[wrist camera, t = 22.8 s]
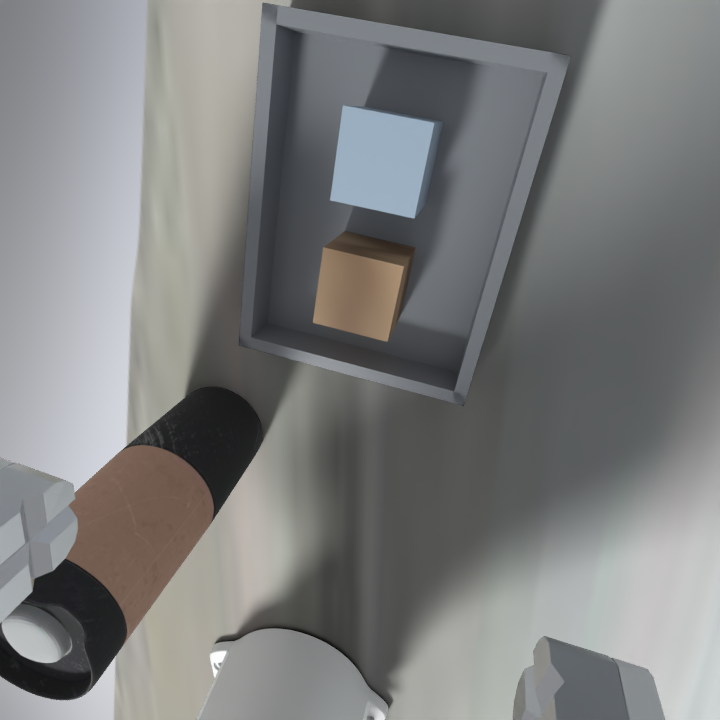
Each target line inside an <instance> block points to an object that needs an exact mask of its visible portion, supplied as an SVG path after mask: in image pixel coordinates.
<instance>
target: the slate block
mask: <svg viewBox="0 0 720 720" xmlns="http://www.w3.org/2000/svg"><path fill="white" fill-rule="evenodd" d="M442 126H443V121H438V120H432V119H427V118H422V117H417V116H411V115H406V114H401V113H395V112H390V111H385V110H380V109H374V108H369V107H364V106H346V105H343V108H342V116H341V123H340V131H339V138H338V145H337V153H336V160H335V168H334V175H333V183H332V190H331V197H330V200H331V201H336V202H340V203H345V204H349V205H354V206H359V207H363V208H368V209H372V210H377V211H382V212H386V213H391V214H395V215H400V216H405V217H409V218H415V217H416V216H417V215H418V213H419V212H420V211H421V210H422V209H423V207H424V206H425V204H426V200H427V195H428V190H429V186H430V181H431V176H432V172H433V167H434V163H435V158H436V153H437V149H438V144H439V140H440V135H441V130H442Z"/></svg>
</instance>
